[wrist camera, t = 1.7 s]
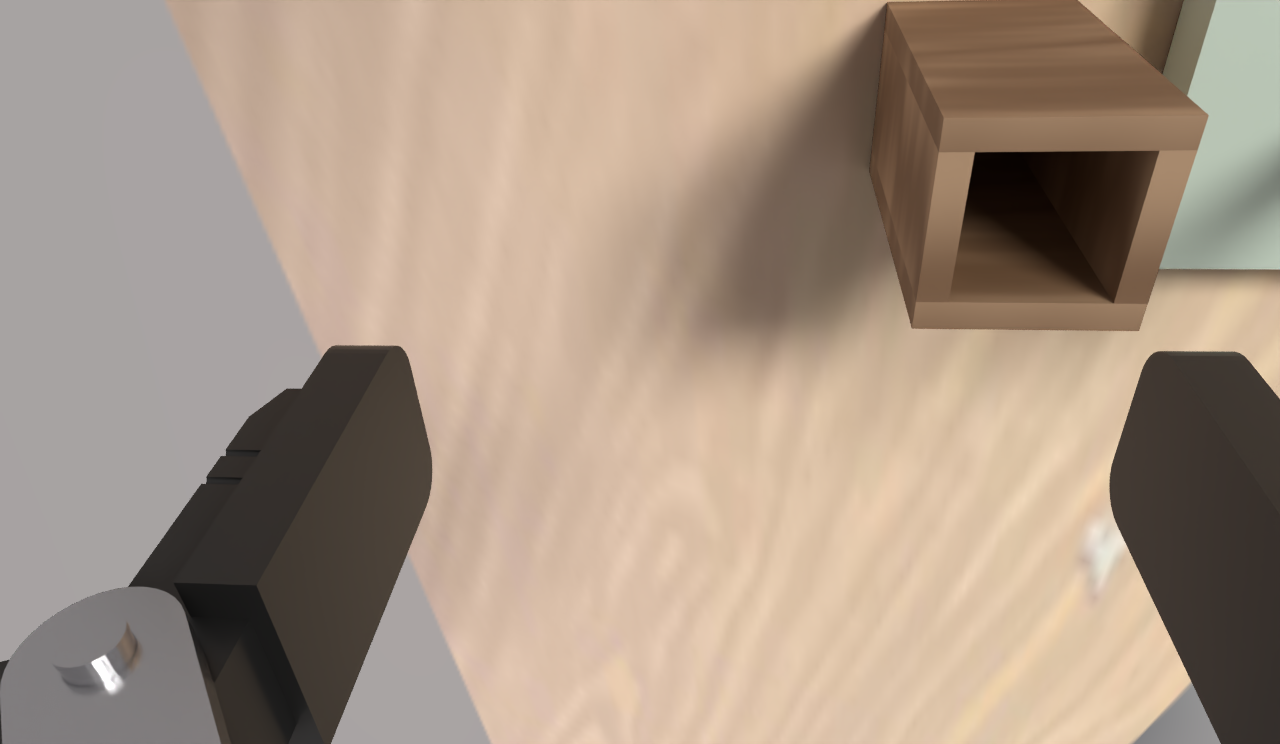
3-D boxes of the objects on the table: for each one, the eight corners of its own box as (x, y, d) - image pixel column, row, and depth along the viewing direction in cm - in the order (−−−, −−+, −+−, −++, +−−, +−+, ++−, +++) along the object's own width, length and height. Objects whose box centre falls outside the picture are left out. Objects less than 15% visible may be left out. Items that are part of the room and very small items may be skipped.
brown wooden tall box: (887, 2, 28) (943, 118, 20) (1075, -3, 28) (1209, 115, 20) (869, 171, 32) (912, 328, 24) (1036, 170, 31) (1139, 330, 23)
